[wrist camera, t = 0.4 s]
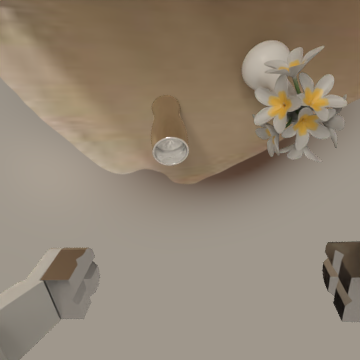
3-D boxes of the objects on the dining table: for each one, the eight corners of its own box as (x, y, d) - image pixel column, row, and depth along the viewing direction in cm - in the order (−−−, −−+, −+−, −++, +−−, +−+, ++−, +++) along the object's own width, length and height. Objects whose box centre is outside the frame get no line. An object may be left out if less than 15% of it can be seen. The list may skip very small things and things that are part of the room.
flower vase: (272, -11, 48) (348, 46, 30) (304, 75, 59) (372, 152, 42) (205, 38, 52) (238, 111, 35) (247, 109, 64) (287, 191, 46)
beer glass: (185, 95, 60) (194, 138, 49) (178, 123, 65) (185, 168, 54) (152, 90, 58) (154, 134, 48) (147, 119, 63) (148, 164, 53)
